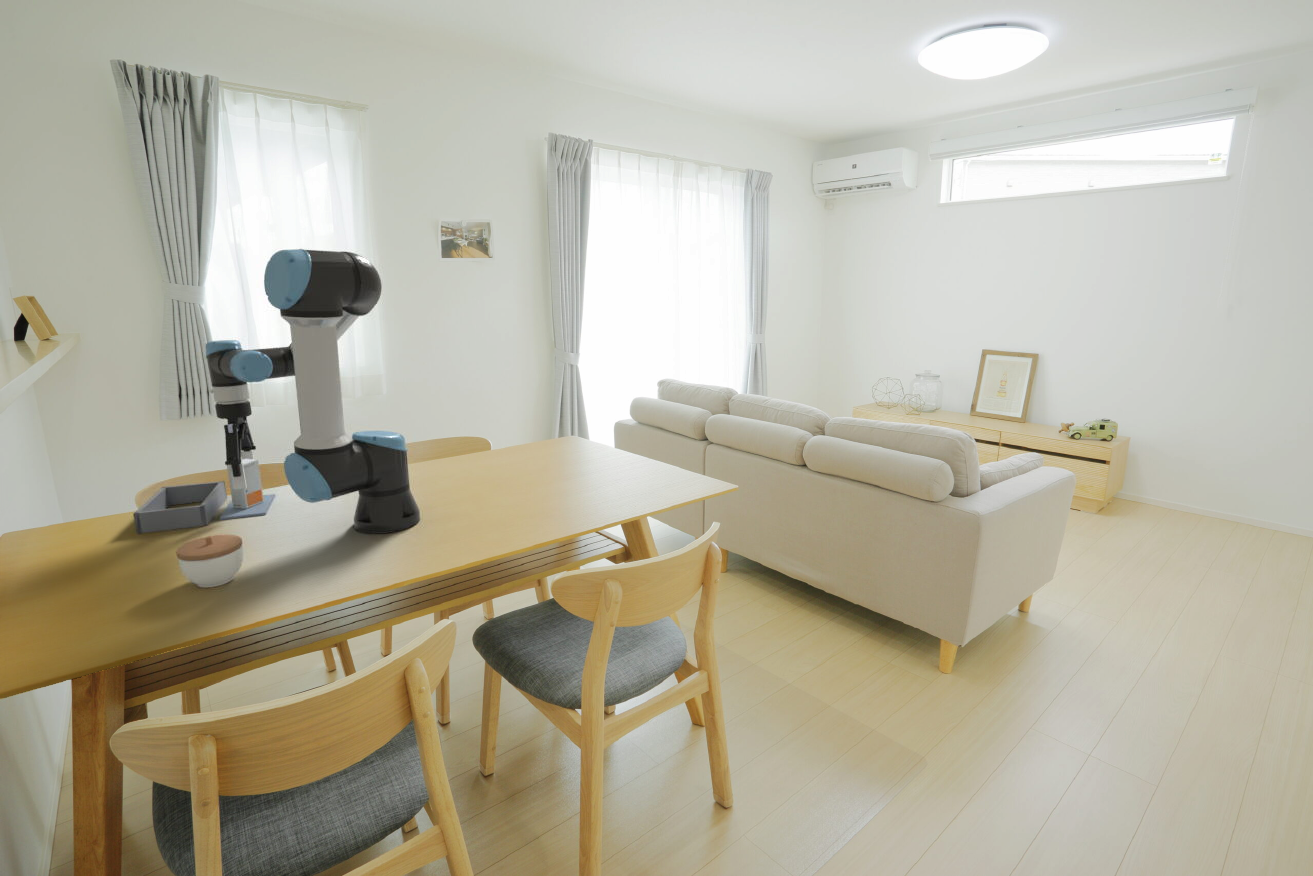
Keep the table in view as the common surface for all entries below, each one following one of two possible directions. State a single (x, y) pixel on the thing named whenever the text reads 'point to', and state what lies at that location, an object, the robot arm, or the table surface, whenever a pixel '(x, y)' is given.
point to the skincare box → (253, 482)
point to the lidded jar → (211, 559)
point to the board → (248, 509)
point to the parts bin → (160, 518)
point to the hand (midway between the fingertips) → (245, 481)
